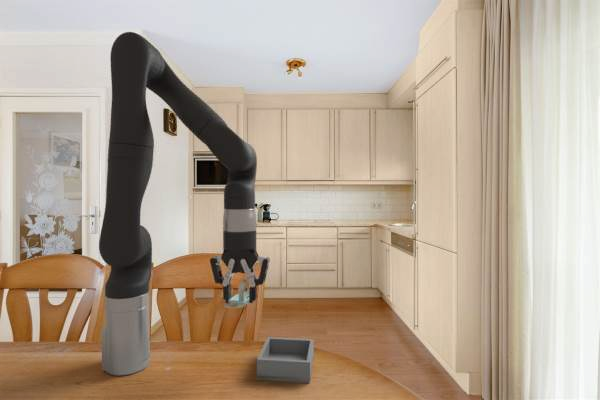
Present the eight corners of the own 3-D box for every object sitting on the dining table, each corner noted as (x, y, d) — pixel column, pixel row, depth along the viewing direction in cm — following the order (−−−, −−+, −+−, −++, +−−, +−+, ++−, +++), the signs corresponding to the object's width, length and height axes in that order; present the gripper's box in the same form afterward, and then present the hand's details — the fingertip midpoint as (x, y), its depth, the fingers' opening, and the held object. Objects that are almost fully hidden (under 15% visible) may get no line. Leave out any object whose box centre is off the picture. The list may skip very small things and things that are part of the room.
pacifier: (219, 310, 79) (244, 311, 78) (218, 282, 79) (243, 283, 78) (231, 300, 86) (255, 301, 85) (230, 274, 86) (254, 275, 85)
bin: (256, 379, 78) (256, 359, 77) (267, 354, 89) (267, 337, 89) (309, 383, 76) (310, 362, 76) (313, 357, 88) (313, 339, 88)
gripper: (203, 230, 79) (204, 306, 79) (267, 230, 77) (267, 308, 78) (215, 226, 86) (215, 295, 87) (273, 226, 84) (273, 297, 85)
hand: (240, 301), depth 82 cm, fingers closed on pacifier, 5 cm apart
